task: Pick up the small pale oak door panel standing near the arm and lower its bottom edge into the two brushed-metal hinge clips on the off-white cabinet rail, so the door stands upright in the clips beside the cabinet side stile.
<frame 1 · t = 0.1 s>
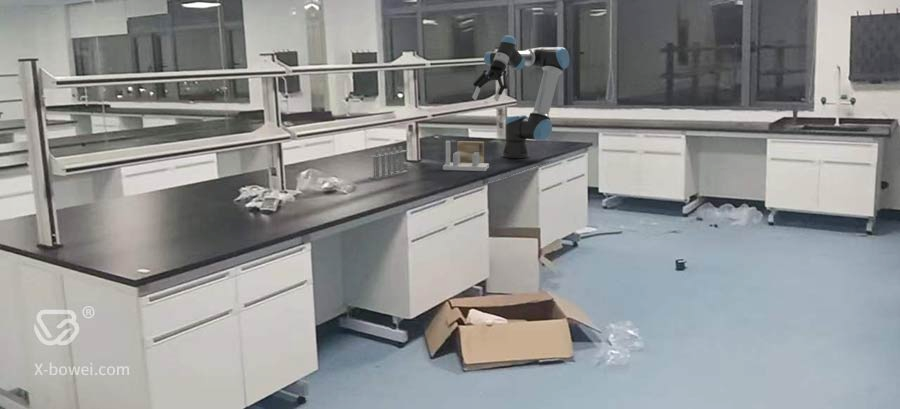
hand: (484, 99, 379), 36 cm above the worktop, tool tilted 35°, fingers open, 13 cm apart
hinge rail: (466, 168, 391), on the worktop
oak door: (470, 164, 405), on the worktop
test tube rack: (389, 175, 372), on the worktop
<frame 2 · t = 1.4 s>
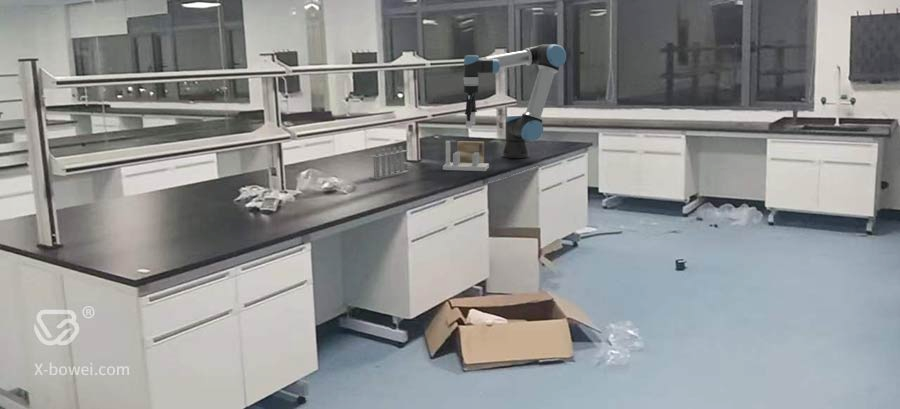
hand: (470, 125, 401), 20 cm above the worktop, tool pointing down, fingers open, 13 cm apart
nothing on the worktop moved.
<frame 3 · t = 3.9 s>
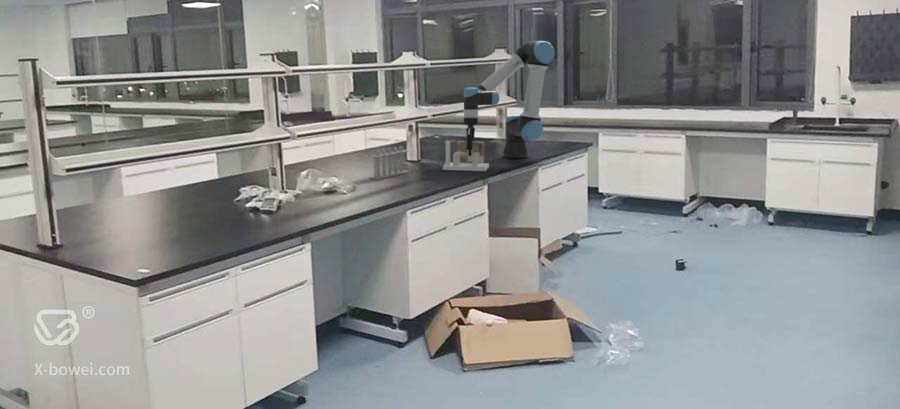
hand: (470, 161, 405), 2 cm above the worktop, tool pointing down, fingers closed on oak door, 2 cm apart
oak door: (470, 164, 405), on the worktop, touching gripper
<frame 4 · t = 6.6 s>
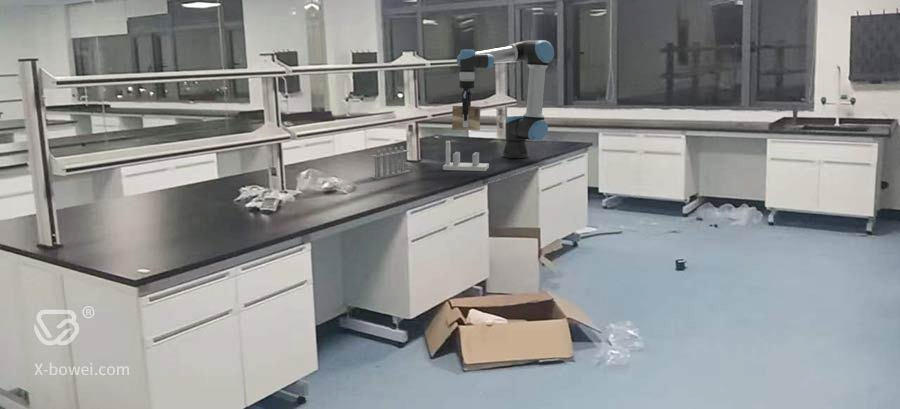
hand: (466, 126, 389), 21 cm above the worktop, tool pointing down, fingers closed on oak door, 2 cm apart
oak door: (466, 129, 390), point 20 cm above the worktop, touching gripper
when the fingers open (5 cm above the worktop, at t = 9.3 s): oak door drops 1 cm, resting on hinge rail.
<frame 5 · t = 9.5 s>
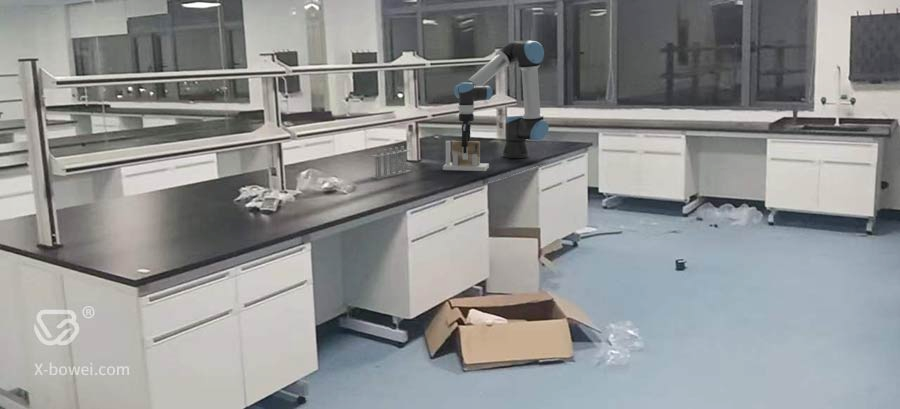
hand: (466, 158, 390), 5 cm above the worktop, tool pointing down, fingers open, 5 cm apart
oak door: (466, 164, 390), point 2 cm above the worktop, touching hinge rail
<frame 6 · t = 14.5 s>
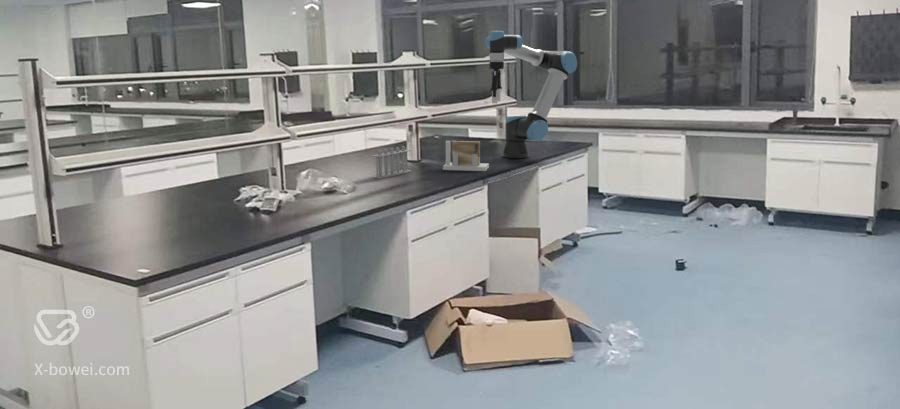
hand: (496, 102, 399), 33 cm above the worktop, tool pointing down, fingers open, 13 cm apart
at the end: oak door 0.1 cm off-centre on the hinge rail, point 2.0 cm above the hinge rail's base; oak door tilted 0°; the gripper is holding nothing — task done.
